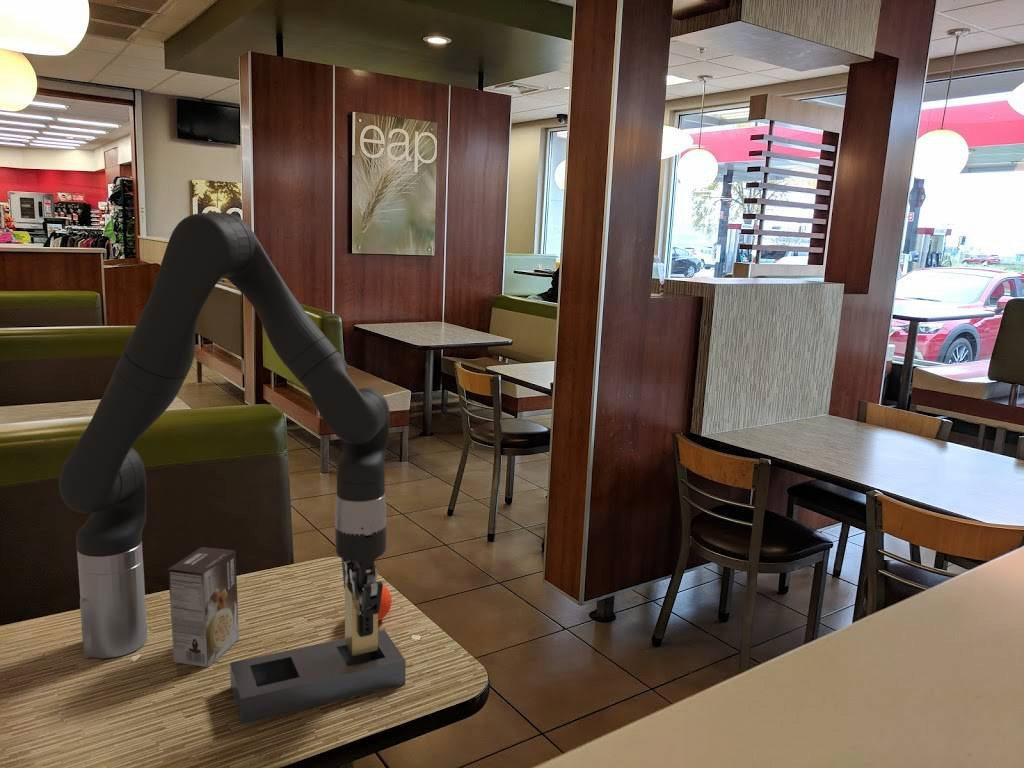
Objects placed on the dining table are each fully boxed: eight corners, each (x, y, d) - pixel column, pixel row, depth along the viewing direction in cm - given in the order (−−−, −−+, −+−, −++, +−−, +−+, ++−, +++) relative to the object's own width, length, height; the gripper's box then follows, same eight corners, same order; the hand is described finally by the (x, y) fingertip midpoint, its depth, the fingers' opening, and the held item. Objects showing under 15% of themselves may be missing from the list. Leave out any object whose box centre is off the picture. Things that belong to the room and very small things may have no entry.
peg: (352, 656, 117) (352, 594, 115) (345, 643, 120) (344, 583, 118) (377, 650, 118) (378, 589, 117) (370, 637, 122) (370, 579, 120)
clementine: (368, 636, 132) (369, 597, 131) (339, 624, 136) (339, 586, 134) (399, 617, 139) (400, 581, 137) (370, 606, 142) (370, 570, 141)
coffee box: (205, 634, 130) (202, 545, 127) (240, 639, 129) (237, 549, 126) (171, 663, 122) (167, 567, 118) (208, 668, 120) (204, 573, 117)
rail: (241, 724, 107) (240, 698, 106) (231, 686, 116) (230, 662, 115) (405, 684, 118) (405, 660, 118) (384, 652, 127) (384, 629, 126)
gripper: (323, 510, 120) (324, 612, 123) (349, 543, 107) (350, 656, 111) (370, 504, 123) (370, 603, 126) (400, 535, 111) (399, 645, 114)
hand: (361, 627), depth 119 cm, fingers closed on peg, 4 cm apart
